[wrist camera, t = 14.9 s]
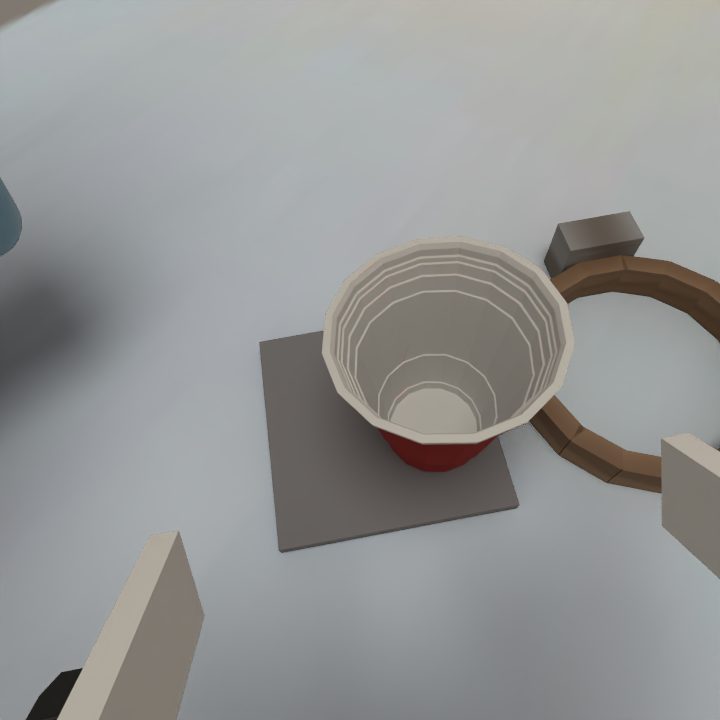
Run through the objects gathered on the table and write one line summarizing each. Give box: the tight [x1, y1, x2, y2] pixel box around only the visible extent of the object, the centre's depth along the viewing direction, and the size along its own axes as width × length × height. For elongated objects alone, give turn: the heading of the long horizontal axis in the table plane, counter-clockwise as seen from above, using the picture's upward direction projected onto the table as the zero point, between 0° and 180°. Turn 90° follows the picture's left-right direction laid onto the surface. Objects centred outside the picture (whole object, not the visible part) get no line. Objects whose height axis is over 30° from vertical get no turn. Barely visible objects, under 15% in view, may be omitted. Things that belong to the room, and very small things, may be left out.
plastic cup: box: [322, 236, 575, 472], centre depth 28 cm, size 11×11×12 cm
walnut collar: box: [529, 211, 720, 493], centre depth 34 cm, size 15×18×4 cm
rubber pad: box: [259, 331, 519, 553], centre depth 34 cm, size 14×14×1 cm
